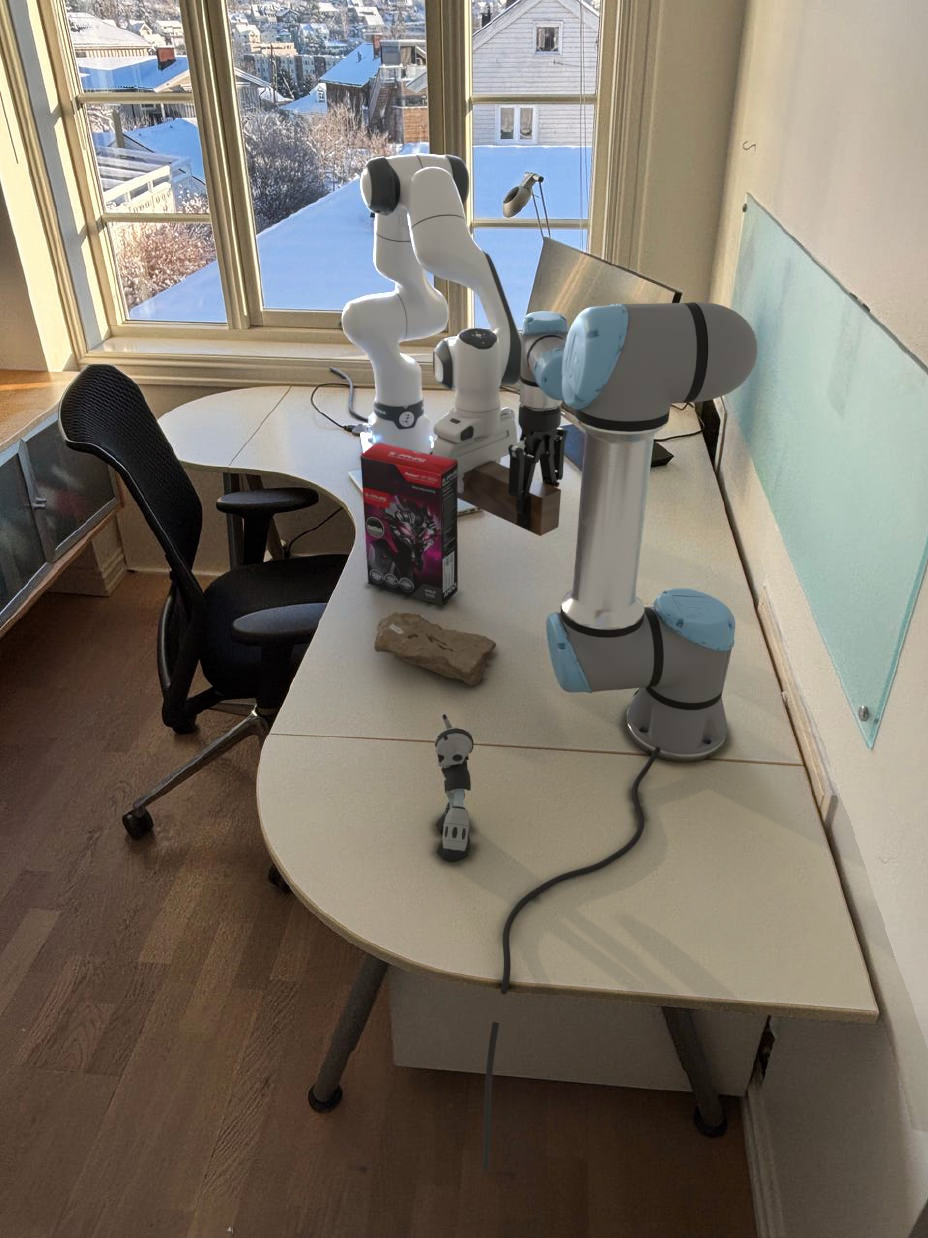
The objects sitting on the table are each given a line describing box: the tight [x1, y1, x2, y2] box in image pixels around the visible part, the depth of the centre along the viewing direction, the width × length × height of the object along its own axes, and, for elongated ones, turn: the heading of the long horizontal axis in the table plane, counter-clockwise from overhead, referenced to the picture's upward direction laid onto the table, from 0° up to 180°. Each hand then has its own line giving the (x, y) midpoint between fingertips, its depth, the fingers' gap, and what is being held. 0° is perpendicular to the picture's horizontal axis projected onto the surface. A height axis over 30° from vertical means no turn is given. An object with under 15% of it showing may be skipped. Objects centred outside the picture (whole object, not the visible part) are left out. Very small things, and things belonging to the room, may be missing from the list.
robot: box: [433, 713, 475, 862], centre depth 119 cm, size 20×5×20 cm, turn 3°
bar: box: [457, 461, 562, 537], centre depth 177 cm, size 24×5×8 cm, turn 45°
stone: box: [373, 611, 497, 686], centre depth 156 cm, size 21×15×6 cm
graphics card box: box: [359, 442, 459, 606], centre depth 169 cm, size 17×7×27 cm, turn 62°
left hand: (475, 485), depth 182 cm, fingers open, 7 cm apart
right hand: (533, 521), depth 174 cm, fingers closed on bar, 5 cm apart
